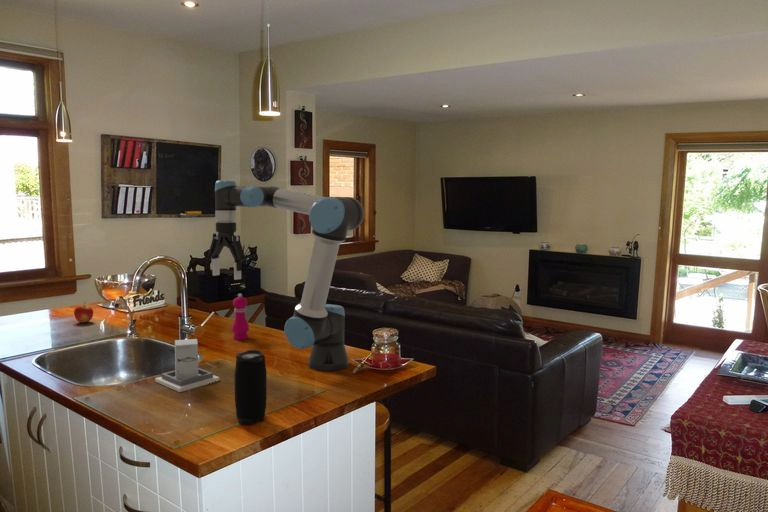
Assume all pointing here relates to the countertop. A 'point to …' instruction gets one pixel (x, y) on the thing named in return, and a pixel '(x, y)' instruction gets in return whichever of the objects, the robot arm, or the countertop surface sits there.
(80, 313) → the apple
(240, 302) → the pepper mill
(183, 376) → the supplement box
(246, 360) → the portable speaker
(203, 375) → the collar board
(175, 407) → the countertop surface
